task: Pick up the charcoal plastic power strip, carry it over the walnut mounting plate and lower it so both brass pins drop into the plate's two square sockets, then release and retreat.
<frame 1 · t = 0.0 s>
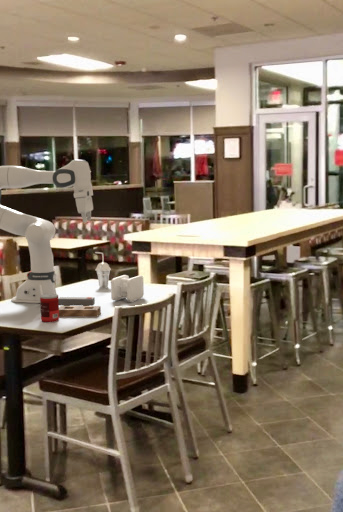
hand: (87, 221, 333), 39 cm above the table, tool pointing down, fingers open, 8 cm apart
power strip: (76, 310, 315), on the table
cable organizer: (127, 300, 337), on the table
mounting plate: (79, 314, 305), on the table
cup with straw: (103, 288, 371), on the table
canned food: (50, 321, 294), on the table
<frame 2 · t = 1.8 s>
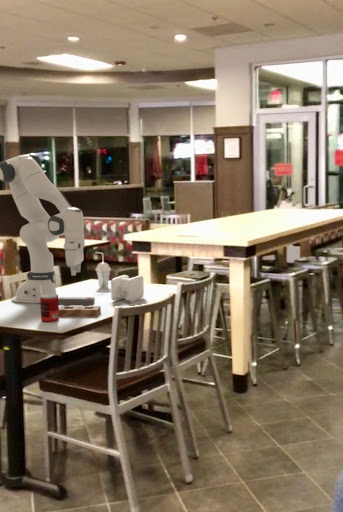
hand: (75, 273, 312), 17 cm above the table, tool pointing down, fingers open, 8 cm apart
nothing on the table moved.
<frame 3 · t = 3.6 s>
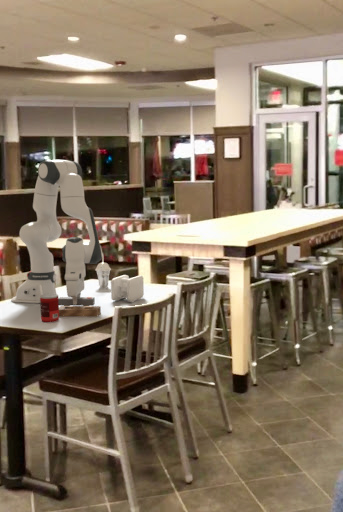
hand: (76, 303, 314), 3 cm above the table, tool pointing down, fingers closed on power strip, 4 cm apart
power strip: (76, 310, 315), on the table, touching gripper
everything else where it was.
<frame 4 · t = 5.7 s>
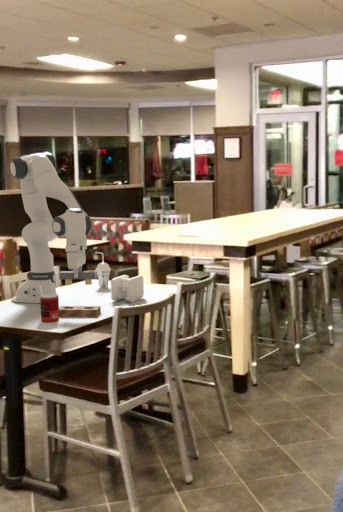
hand: (77, 276, 303), 17 cm above the table, tool pointing down, fingers closed on power strip, 4 cm apart
power strip: (78, 284, 304), point 14 cm above the table, touching gripper
everything else where it was.
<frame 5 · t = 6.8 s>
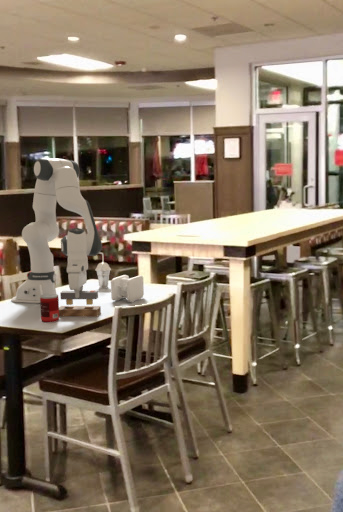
hand: (78, 296, 304), 8 cm above the table, tool pointing down, fingers closed on power strip, 4 cm apart
power strip: (79, 304, 305), point 5 cm above the table, touching gripper
everything else where it was.
when the fingers open (5 cm above the table, at t = 7.9 s): power strip stays where it is, resting on mounting plate.
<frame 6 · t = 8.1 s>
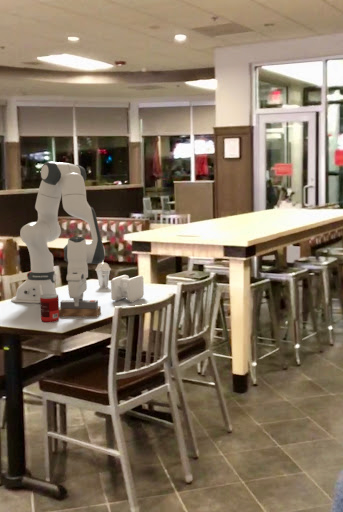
hand: (78, 304, 305), 5 cm above the table, tool pointing down, fingers open, 6 cm apart
power strip: (79, 313, 305), resting on mounting plate
everything else where it was.
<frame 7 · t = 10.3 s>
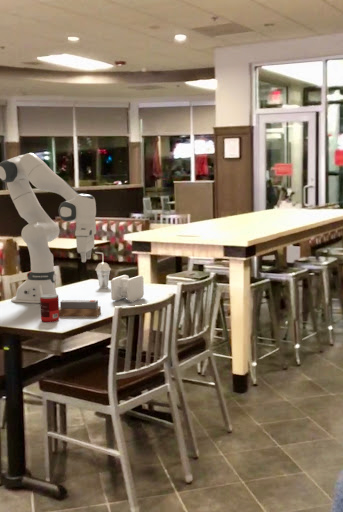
hand: (86, 260, 311), 23 cm above the table, tool pointing down, fingers open, 8 cm apart
nothing on the table moved.
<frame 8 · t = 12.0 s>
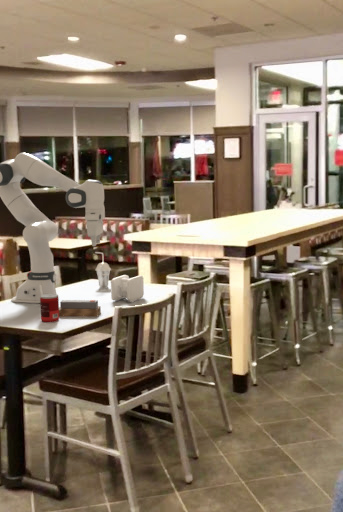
hand: (96, 244, 319), 29 cm above the table, tool pointing down, fingers open, 8 cm apart
nothing on the table moved.
at the end: power strip 0.2 cm off-centre on the mounting plate, point 0.4 cm above the mounting plate's base; power strip tilted 0°; the gripper is holding nothing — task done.
